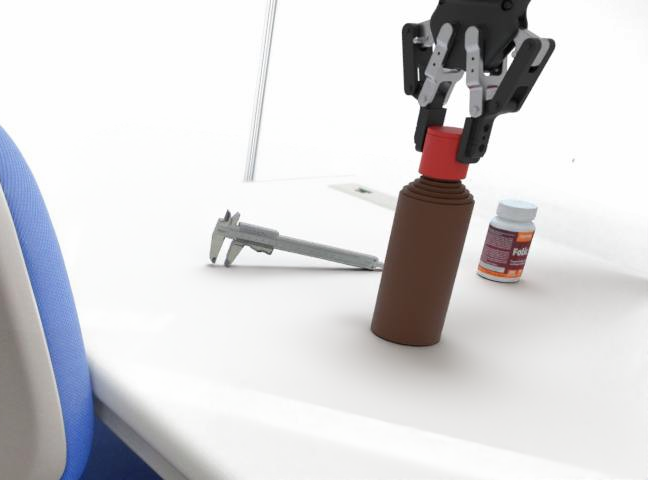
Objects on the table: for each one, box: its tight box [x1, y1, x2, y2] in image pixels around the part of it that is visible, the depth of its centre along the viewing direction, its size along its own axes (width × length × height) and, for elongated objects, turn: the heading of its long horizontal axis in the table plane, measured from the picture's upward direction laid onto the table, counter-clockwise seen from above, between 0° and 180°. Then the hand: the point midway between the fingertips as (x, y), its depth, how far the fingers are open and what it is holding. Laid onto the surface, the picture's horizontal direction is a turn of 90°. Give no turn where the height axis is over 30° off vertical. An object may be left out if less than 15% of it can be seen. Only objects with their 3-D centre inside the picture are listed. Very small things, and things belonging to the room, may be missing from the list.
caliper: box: [209, 208, 384, 271], centre depth 97 cm, size 20×1×6 cm, turn 95°
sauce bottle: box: [370, 174, 476, 346], centre depth 79 cm, size 6×6×18 cm
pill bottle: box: [476, 198, 539, 283], centre depth 98 cm, size 5×5×8 cm
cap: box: [417, 125, 470, 181], centre depth 75 cm, size 4×4×4 cm
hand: (446, 156), depth 75 cm, fingers closed on cap, 4 cm apart
